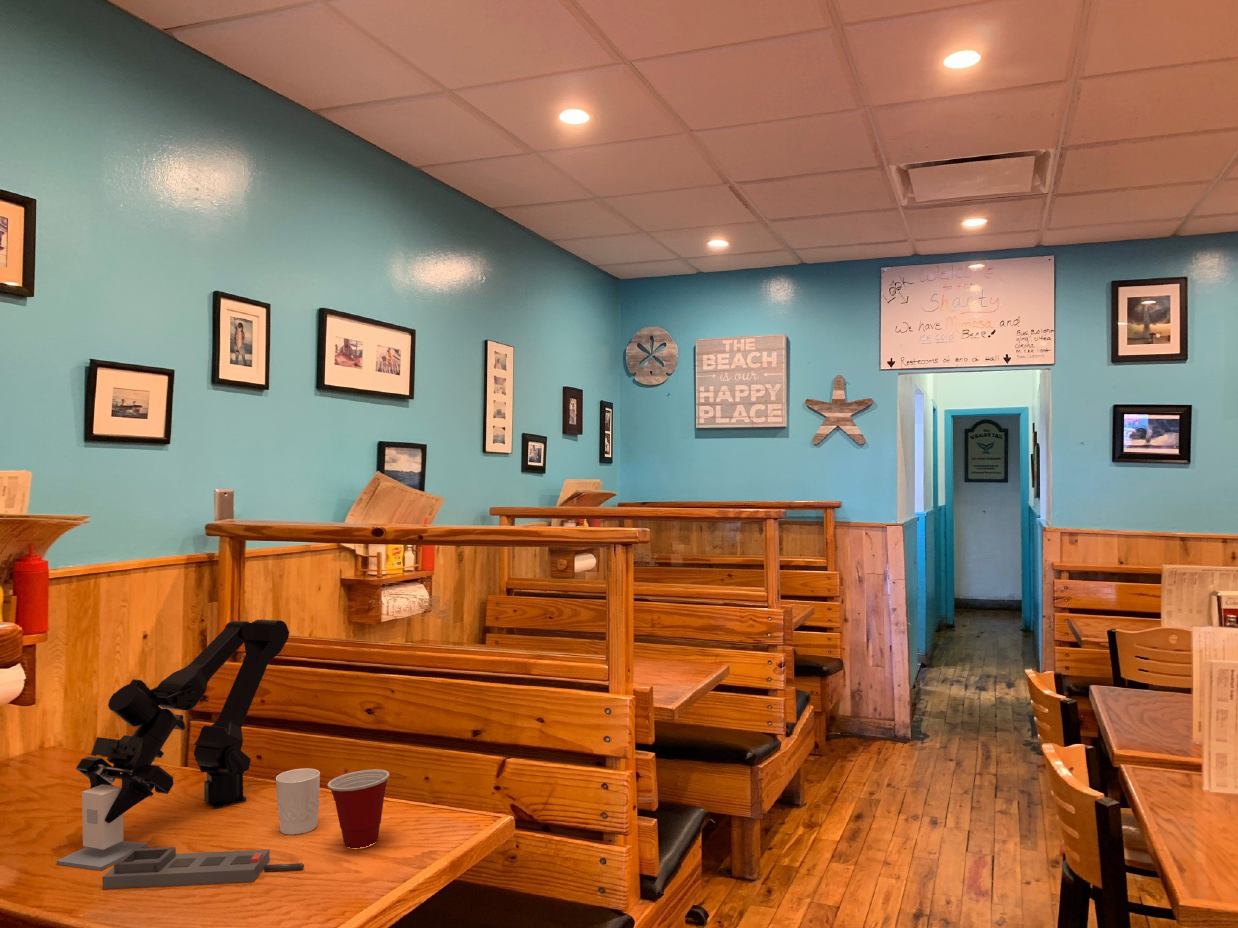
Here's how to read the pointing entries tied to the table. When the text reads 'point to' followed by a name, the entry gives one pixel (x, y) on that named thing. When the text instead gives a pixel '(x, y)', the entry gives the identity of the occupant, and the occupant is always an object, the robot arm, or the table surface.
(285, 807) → the white cup
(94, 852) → the pad
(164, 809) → the table surface
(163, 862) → the power strip
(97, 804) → the block
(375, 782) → the plastic cup
